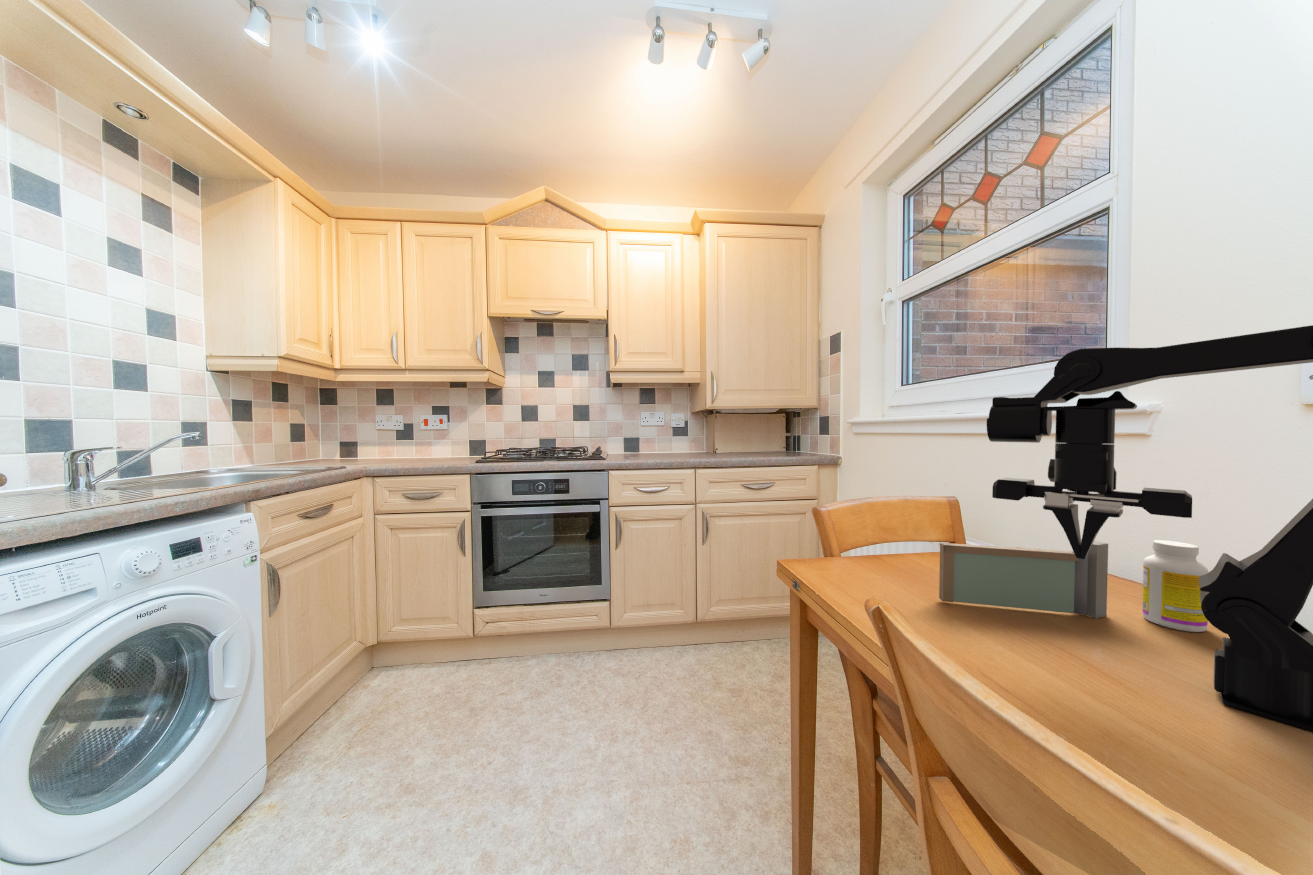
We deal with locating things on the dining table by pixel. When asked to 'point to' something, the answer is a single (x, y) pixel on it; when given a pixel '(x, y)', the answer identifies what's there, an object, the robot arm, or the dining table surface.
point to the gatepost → (1097, 580)
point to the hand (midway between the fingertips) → (1080, 558)
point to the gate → (1013, 577)
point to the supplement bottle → (1173, 586)
